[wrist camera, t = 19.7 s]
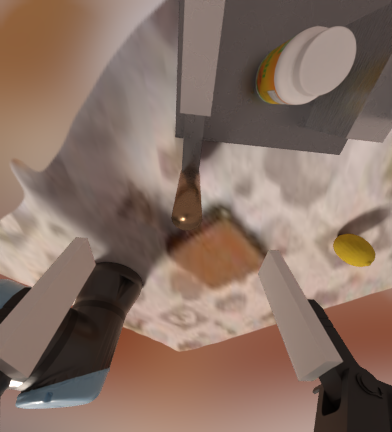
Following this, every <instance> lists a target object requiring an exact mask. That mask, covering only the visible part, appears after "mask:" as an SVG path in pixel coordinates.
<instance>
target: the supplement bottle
mask: <svg viewBox="0 0 392 432" xmlns="http://www.w3.org/2000/svg"><path fill="white" fill-rule="evenodd" d="M355 55H356V40H355V37H354V35H353V33H352V32H351V31H350V30H349V29H348V28H346V27H343V26H335V27H331V28H327V27H322V26H315V27H311V28H308V29H306V30H304V31H302V32H301V33H299V34H297V35H296V36H294V37H293V38H291V39H290V40H288V41H287V42H285V43H283V44H282V45H280V46H279V47H277V48H275V49H274V50H272V51H271V52H270V53H269V54H268V55H267V56H266V57H265V58H264V59H263V61H262V62H261V64H260V66H259V68H258V71H257V75H256V90H257V93H258V95H259V96H260V98H261V99H262V100H263V101H265V102H267V103H270V104H287V105H300V104H305V103H308V102H310V101H312V100H314V99H315V98H317V97H318V96H319V95H323V94H326V93H328V92H330V91H332V90H333V89H334V88H336V87H337V86H338V85H339V84H340V83H341V82H342V81H343V80H344V79H345V77H346V76H347V74H348V73H349V71H350V69H351V67H352V65H353V62H354V59H355Z"/></svg>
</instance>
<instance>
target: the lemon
mask: <svg viewBox="0 0 392 432" xmlns="http://www.w3.org/2000/svg"><path fill="white" fill-rule="evenodd" d="M333 247H334V250H335V252H336V254H337V255H338V256H339V257H340V258H341V259H342V260H343V261H345V262H346V263H348V264H350V265H353V266H358V267H363V266H370V265H371V263H372V262H373V261H374V259H375V251H374V249H373V247H372V246H371V245H370V244H369V243H368V242H367V241H366V240H365V239H363V238H362V237H360V236H357V235H354V234H343V235H339V236H338V237H337V238H336V239H335V241H334V244H333Z"/></svg>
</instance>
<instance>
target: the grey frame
mask: <svg viewBox="0 0 392 432" xmlns="http://www.w3.org/2000/svg"><path fill="white" fill-rule="evenodd" d="M184 7H185V0H180V3H179V36H178V68H177V101H176V134H175V137H178V138H184V124H185V113H180V103H181V79H182V55H183V31H184ZM315 26H322V27H327V28H331V27H335V26H343V27H346V28H348V29H349V30H350V31H351V32H352V33H353V35H354V37H355V40H356V55H355V59H354V62H353V65H352V67H351V69H350V71H349V73H348V74H347V76H346V77H345V79H344V80H343V81H342V82H341V83H340V84H339V85H338V86H337V87H336V88H334V89H333V90H332V91H330V92H328V93H326V94H323V95H319V96H318V97H317V98H315V99H314V100H312V101H310V102H308V103H305V104H300V105H287V104H270V103H267V102H265V101H263V100H262V99H261V98H260V96H259V95H258V93H257V90H256V75H257V71H258V68H259V66H260V64H261V62H262V61H263V59H264V58H265V57H266V56H267V55H268V54H269V53H270V52H271V51H272V50H274V49H275V48H277V47H279V46H280V45H282V44H283V43H285V42H287V41H288V40H290V39H291V38H293V37H294V36H296V35H297V34H299V33H301V32H302V31H304V30H306V29H308V28H311V27H315ZM391 129H392V0H225V6H224V14H223V22H222V30H221V38H220V45H219V53H218V61H217V69H216V77H215V85H214V92H213V100H212V108H211V116H205V121H204V130H203V139H202V140H206V141H215V142H224V143H234V144H243V145H252V146H262V147H271V148H280V149H289V150H299V151H308V152H317V153H327V154H336V155H340V153H341V151H342V149H343V147H344V146H345V144H346V142H347V140H348V139H355V140H364V141H373V142H383V141H384V139H385V138H386V136H387V135H388V133H389V132H390V130H391Z"/></svg>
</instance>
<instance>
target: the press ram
mask: <svg viewBox="0 0 392 432" xmlns="http://www.w3.org/2000/svg"><path fill="white" fill-rule="evenodd" d="M224 6H225V0H185V7H184V31H183V55H182V79H181V103H180V113H185V124H184V142H183V160H182V170H181V173H180V178H179V183H178V188H177V192H176V197H175V202H174V207H173V212H172V222H173V224H174V225H175V226H176V227H178V228H179V229H182V230H193V229H195V228H197V227H198V226H199V225H200V224H201V222H202V207H201V190H200V173H199V166H200V157H201V148H202V139H203V130H204V121H205V116H211V108H212V100H213V92H214V85H215V77H216V69H217V61H218V53H219V45H220V38H221V30H222V22H223V14H224Z"/></svg>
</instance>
